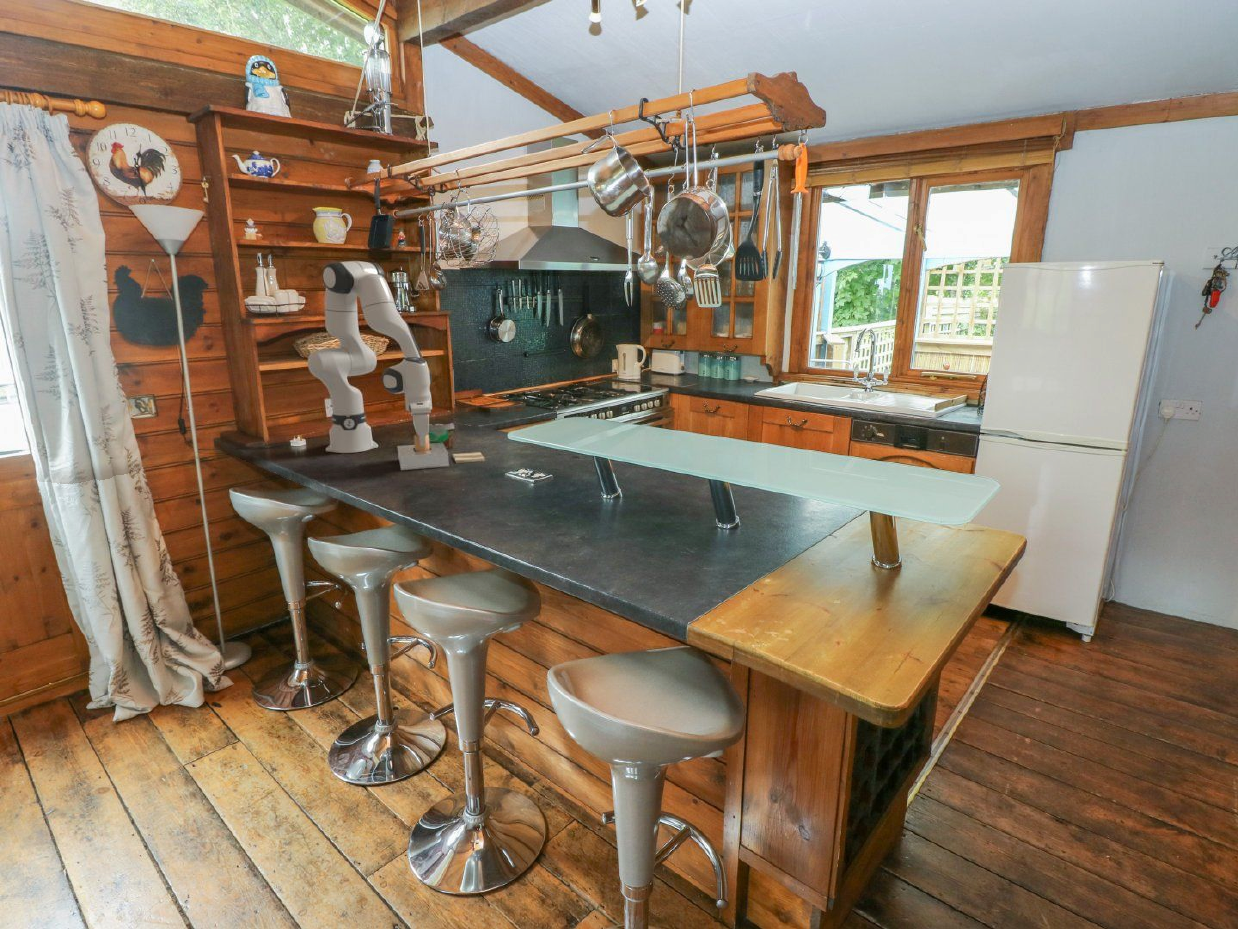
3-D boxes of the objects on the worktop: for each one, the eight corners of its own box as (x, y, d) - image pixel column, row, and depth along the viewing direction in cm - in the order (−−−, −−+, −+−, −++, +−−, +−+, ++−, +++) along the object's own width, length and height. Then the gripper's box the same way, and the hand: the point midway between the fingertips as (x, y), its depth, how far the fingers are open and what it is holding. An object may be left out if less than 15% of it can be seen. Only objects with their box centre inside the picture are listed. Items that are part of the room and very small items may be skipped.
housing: (398, 459, 243) (397, 446, 241) (443, 455, 248) (442, 442, 247) (401, 470, 228) (399, 456, 227) (448, 466, 233) (447, 452, 232)
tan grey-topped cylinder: (415, 461, 239) (413, 432, 237) (429, 460, 241) (427, 431, 238) (416, 465, 235) (414, 435, 232) (431, 463, 237) (429, 434, 234)
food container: (419, 449, 257) (417, 424, 255) (428, 446, 263) (426, 421, 260) (447, 451, 254) (445, 426, 251) (456, 448, 260) (454, 423, 257)
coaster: (453, 456, 246) (452, 454, 246) (480, 454, 250) (480, 451, 249) (456, 463, 237) (456, 460, 237) (484, 460, 240) (484, 458, 240)
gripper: (407, 400, 241) (410, 437, 244) (411, 409, 222) (414, 450, 226) (425, 399, 243) (428, 436, 247) (430, 408, 225) (433, 448, 228)
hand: (421, 443), depth 236 cm, fingers open, 6 cm apart
